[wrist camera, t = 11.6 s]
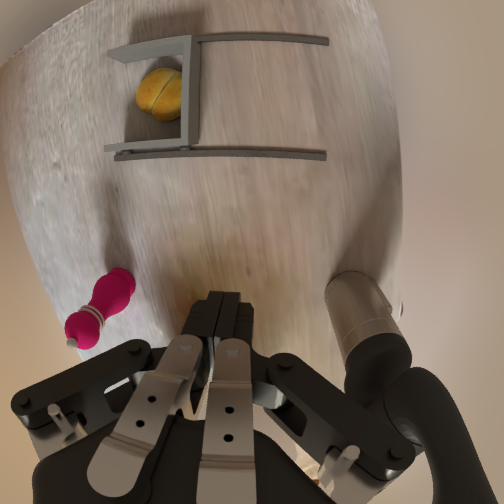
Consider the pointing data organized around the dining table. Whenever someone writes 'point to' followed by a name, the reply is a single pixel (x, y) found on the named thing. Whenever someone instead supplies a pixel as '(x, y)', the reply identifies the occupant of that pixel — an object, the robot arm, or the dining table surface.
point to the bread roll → (161, 94)
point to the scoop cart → (188, 92)
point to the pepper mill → (99, 309)
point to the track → (237, 152)
